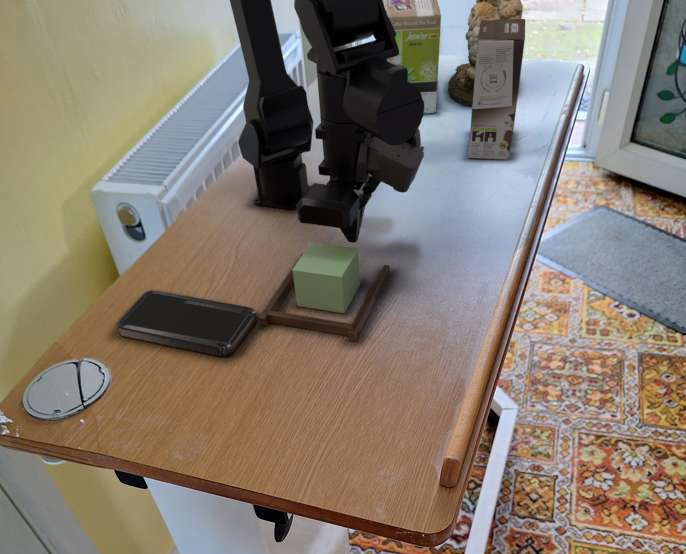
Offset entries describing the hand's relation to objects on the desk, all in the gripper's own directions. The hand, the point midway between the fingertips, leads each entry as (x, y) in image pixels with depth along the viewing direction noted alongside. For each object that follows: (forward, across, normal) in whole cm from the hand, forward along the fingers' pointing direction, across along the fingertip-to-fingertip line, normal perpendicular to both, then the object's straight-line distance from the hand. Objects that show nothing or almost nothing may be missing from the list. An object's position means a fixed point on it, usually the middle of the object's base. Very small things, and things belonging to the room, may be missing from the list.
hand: (353, 241), depth 85 cm
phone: (+2, -20, +14) cm, 24 cm away
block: (+2, -10, 0) cm, 10 cm away
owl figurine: (+2, +57, -4) cm, 57 cm away
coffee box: (+2, +34, -11) cm, 35 cm away
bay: (+2, -10, 0) cm, 11 cm away
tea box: (+2, +50, +7) cm, 50 cm away
